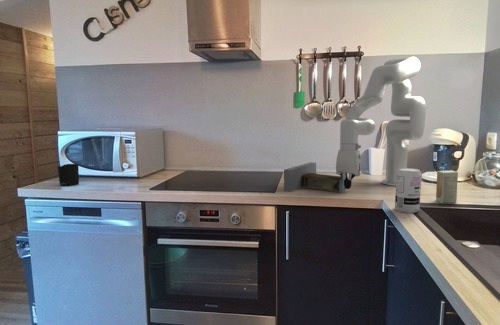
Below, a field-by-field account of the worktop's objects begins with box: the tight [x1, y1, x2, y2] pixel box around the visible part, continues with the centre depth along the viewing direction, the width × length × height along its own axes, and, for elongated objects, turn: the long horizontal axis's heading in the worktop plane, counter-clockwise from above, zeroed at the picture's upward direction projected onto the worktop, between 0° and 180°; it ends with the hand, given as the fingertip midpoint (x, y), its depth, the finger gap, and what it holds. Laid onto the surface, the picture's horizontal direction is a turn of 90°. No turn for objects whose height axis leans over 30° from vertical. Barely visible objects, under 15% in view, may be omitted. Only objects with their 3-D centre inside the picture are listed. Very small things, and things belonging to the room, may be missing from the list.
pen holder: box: [56, 163, 80, 187], centre depth 182 cm, size 9×9×10 cm
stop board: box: [283, 161, 317, 193], centre depth 174 cm, size 3×28×10 cm, turn 145°
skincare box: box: [435, 170, 459, 204], centre depth 143 cm, size 6×4×12 cm
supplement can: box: [394, 167, 423, 214], centre depth 130 cm, size 8×8×15 cm
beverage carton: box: [302, 173, 346, 193], centre depth 168 cm, size 8×19×7 cm, turn 55°
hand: (347, 188), depth 161 cm, fingers closed
